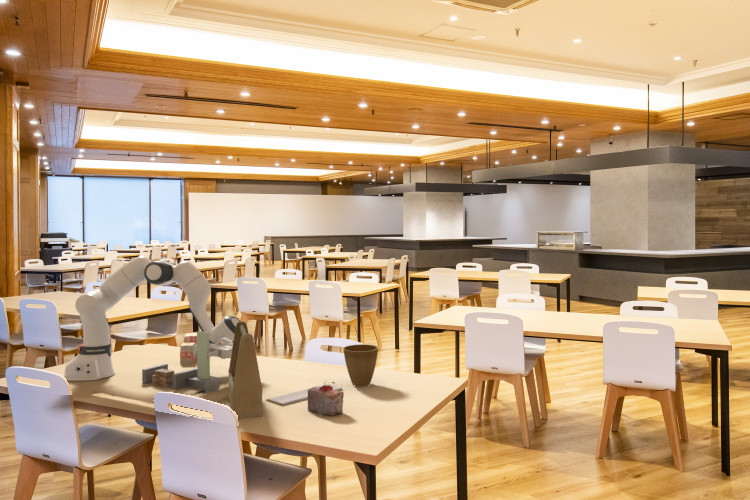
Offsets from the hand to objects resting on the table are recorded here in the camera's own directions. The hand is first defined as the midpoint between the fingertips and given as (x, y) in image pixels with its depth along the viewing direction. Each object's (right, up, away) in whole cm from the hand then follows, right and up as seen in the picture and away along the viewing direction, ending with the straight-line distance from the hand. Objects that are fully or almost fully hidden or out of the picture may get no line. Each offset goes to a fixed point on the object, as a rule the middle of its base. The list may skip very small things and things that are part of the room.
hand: (201, 353), depth 247 cm
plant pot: (+65, -15, +10) cm, 68 cm away
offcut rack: (-15, -15, +6) cm, 22 cm away
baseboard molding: (+43, -16, -6) cm, 46 cm away
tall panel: (+1, -11, +1) cm, 11 cm away
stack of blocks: (-23, -13, +60) cm, 65 cm away
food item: (+53, -16, -29) cm, 63 cm away
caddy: (+22, -16, -21) cm, 35 cm away
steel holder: (0, -15, +1) cm, 15 cm away
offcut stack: (-17, -14, +3) cm, 22 cm away
